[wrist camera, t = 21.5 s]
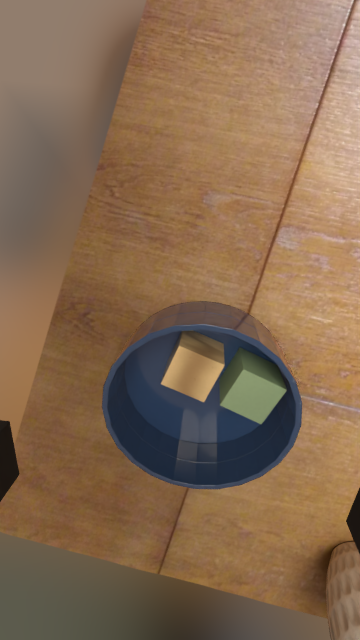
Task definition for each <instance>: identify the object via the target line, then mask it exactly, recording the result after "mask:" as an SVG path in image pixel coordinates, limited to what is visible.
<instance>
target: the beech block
mask: <svg viewBox="0 0 360 640" xmlns="http://www.w3.org/2000/svg"><path fill="white" fill-rule="evenodd" d="M224 366H225V362H224V344H223V343H220V342H218V341H216V340H213V339H211V338H209V337H207V336H204V335H202V334H200V333H197V332H195V331H193V330H192V331H181V334H180V336H179V338H178V340H177V342H176V344H175V346H174V348H173V351H172V353H171V355H170V357H169V359H168V361H167V365H166V368H165V371H164V375H163V378H162V381H161V384H162V385H164V386H167V387H169V388H171V389H174V390H176V391H178V392H181V393H183V394H185V395H188V396H190V397H192V398H195V399H197V400H199V401H202V402H204V401H205V400H206V398H207V396H208V394H209V392H210V391H211V389H212V387H213V385H214V384H215V382H216V380H217V378H218V377H219V375H220V373H221V371H222V369H223V368H224Z"/></svg>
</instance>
